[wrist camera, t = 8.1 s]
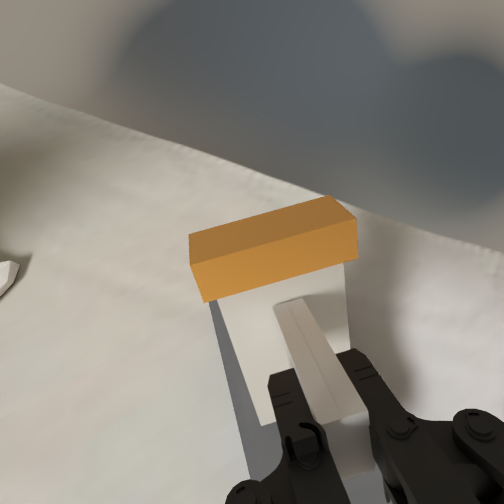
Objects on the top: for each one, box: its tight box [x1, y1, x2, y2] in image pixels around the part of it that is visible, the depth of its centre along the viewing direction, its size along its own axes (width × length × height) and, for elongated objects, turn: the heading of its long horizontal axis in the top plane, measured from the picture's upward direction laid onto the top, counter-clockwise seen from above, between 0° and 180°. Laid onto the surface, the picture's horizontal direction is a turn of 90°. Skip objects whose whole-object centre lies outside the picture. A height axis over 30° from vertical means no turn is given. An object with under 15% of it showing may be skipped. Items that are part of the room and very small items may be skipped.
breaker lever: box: [189, 195, 358, 426], centre depth 18 cm, size 3×7×13 cm
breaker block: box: [209, 300, 393, 504], centre depth 24 cm, size 20×10×6 cm, turn 16°
